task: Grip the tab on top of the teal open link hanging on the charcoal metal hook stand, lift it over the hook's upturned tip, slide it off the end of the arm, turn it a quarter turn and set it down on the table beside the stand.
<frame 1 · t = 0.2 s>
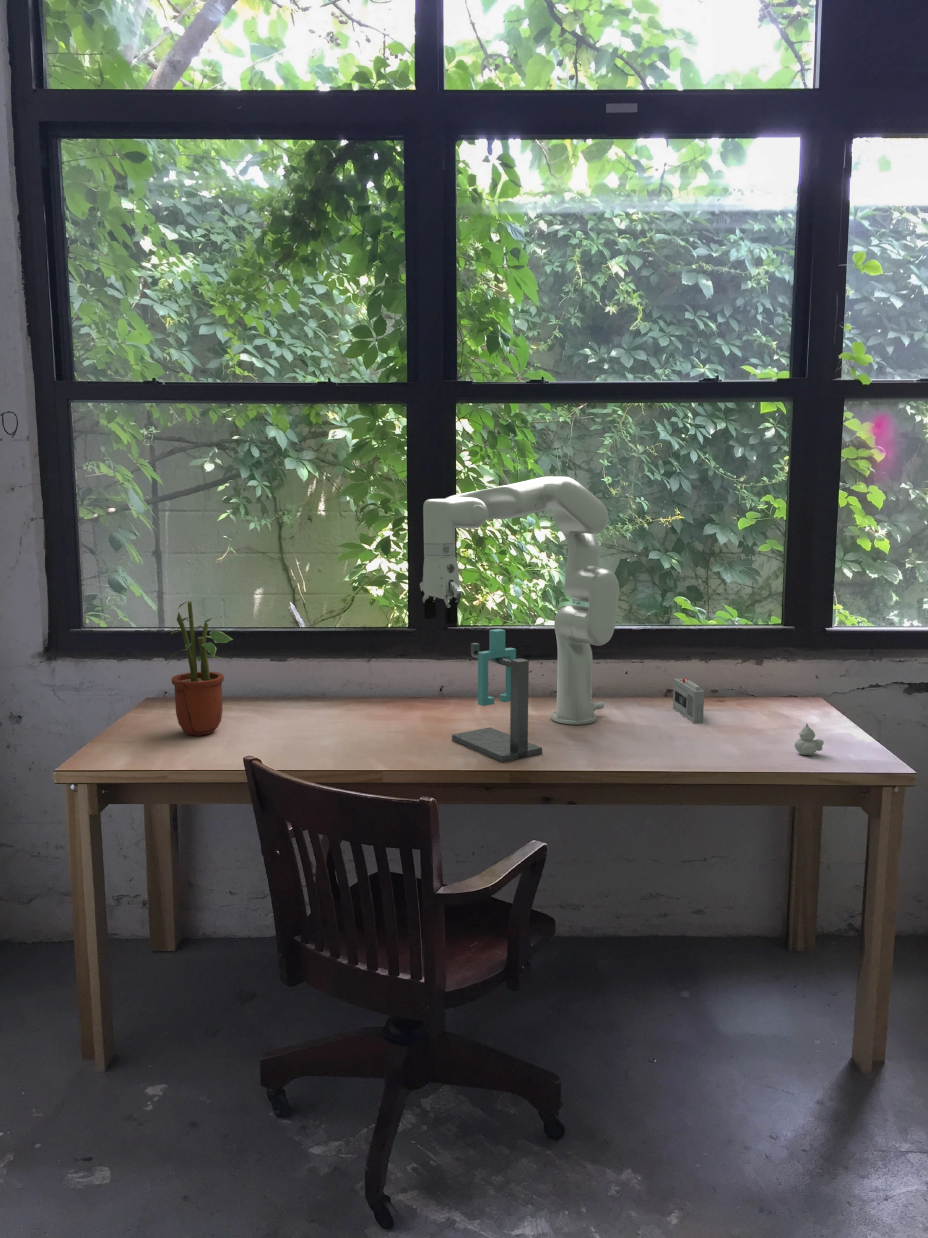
hand: (440, 620, 219), 32 cm above the table, tool pointing down, fingers open, 9 cm apart
cassette player: (687, 716, 253), on the table
potted plant: (200, 730, 238), on the table
teal link: (496, 702, 222), point 11 cm above the table, touching hook stand
hook stand: (496, 747, 224), on the table
rubber duck: (808, 755, 218), on the table
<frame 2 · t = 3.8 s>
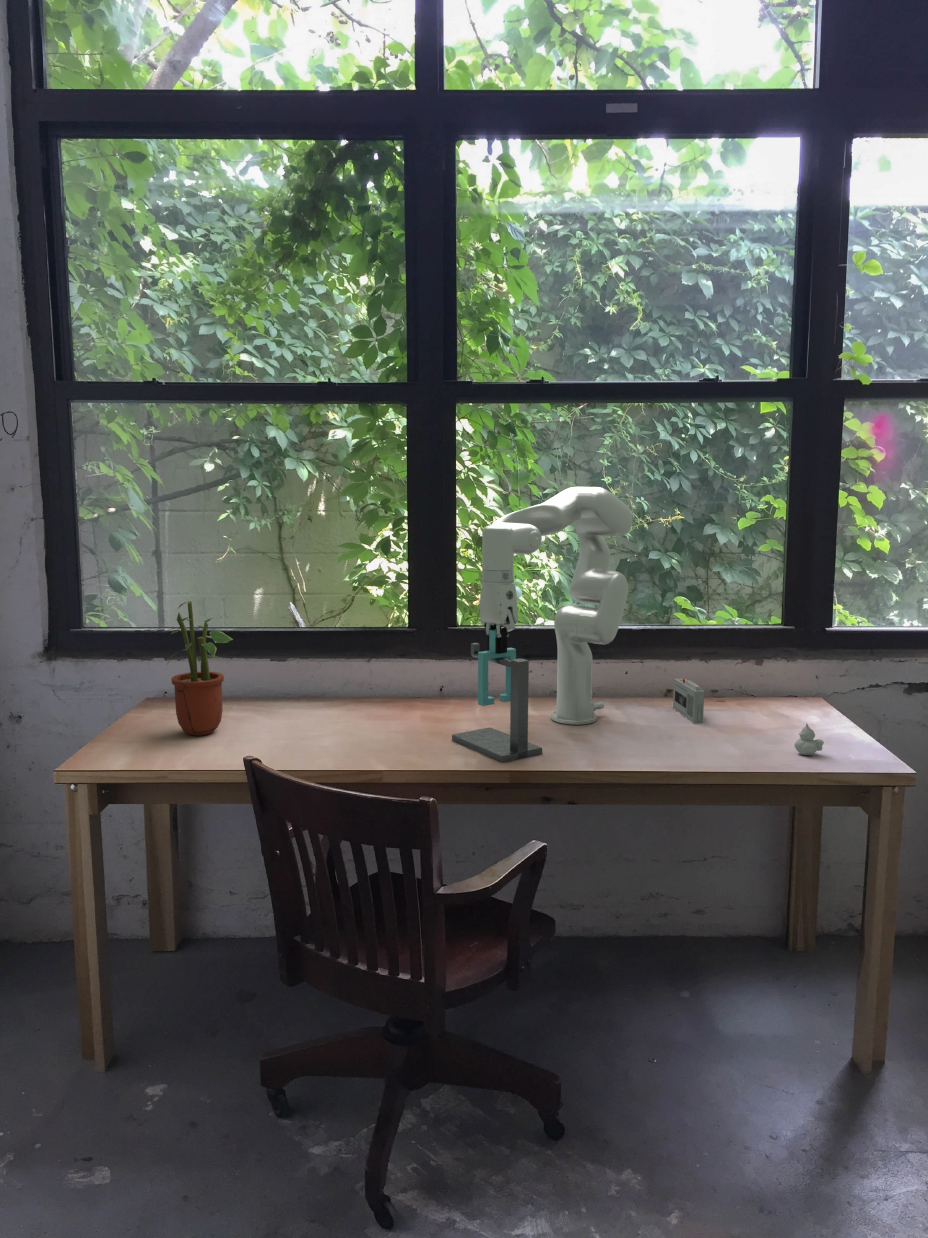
hand: (497, 651, 220), 24 cm above the table, tool pointing down, fingers closed on teal link, 2 cm apart
teal link: (496, 702, 222), point 11 cm above the table, touching gripper, hook stand
everything else where it was.
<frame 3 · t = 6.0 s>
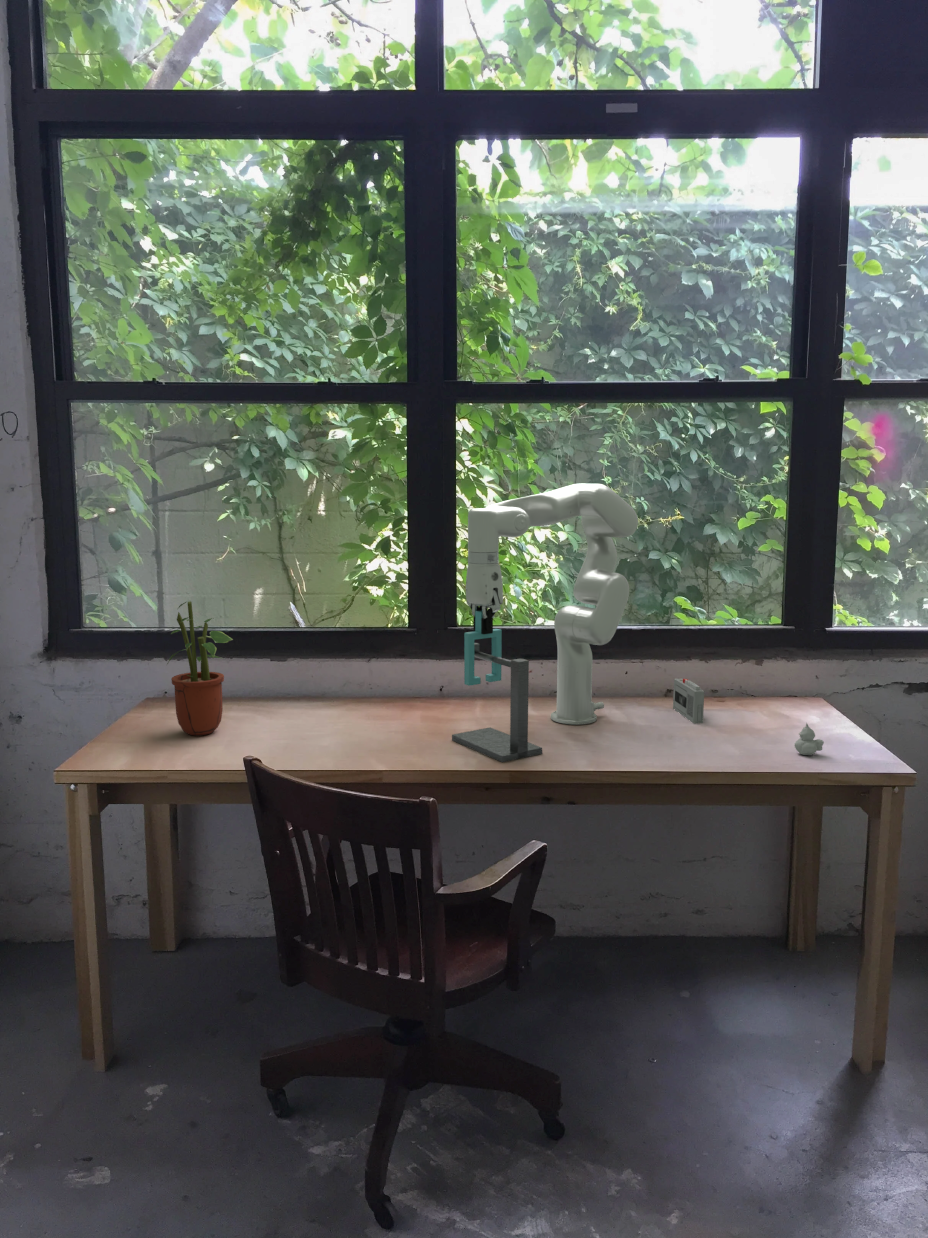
hand: (483, 632, 224), 28 cm above the table, tool pointing down, fingers closed on teal link, 2 cm apart
teal link: (483, 682, 226), point 15 cm above the table, touching gripper
everything else where it was.
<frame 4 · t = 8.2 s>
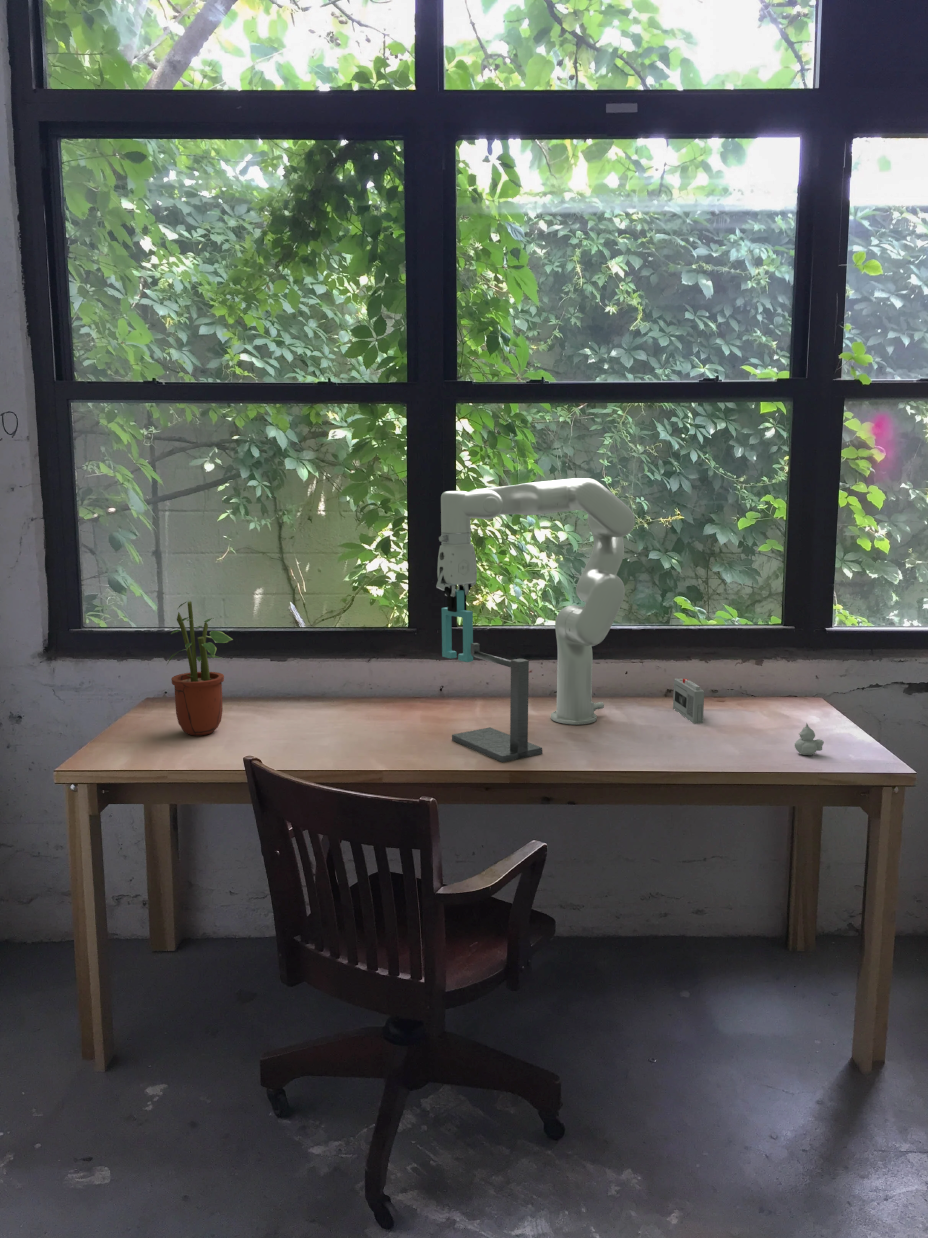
hand: (456, 610, 234), 32 cm above the table, tool pointing down, fingers closed on teal link, 2 cm apart
teal link: (457, 658, 236), point 19 cm above the table, touching gripper
everything else where it was.
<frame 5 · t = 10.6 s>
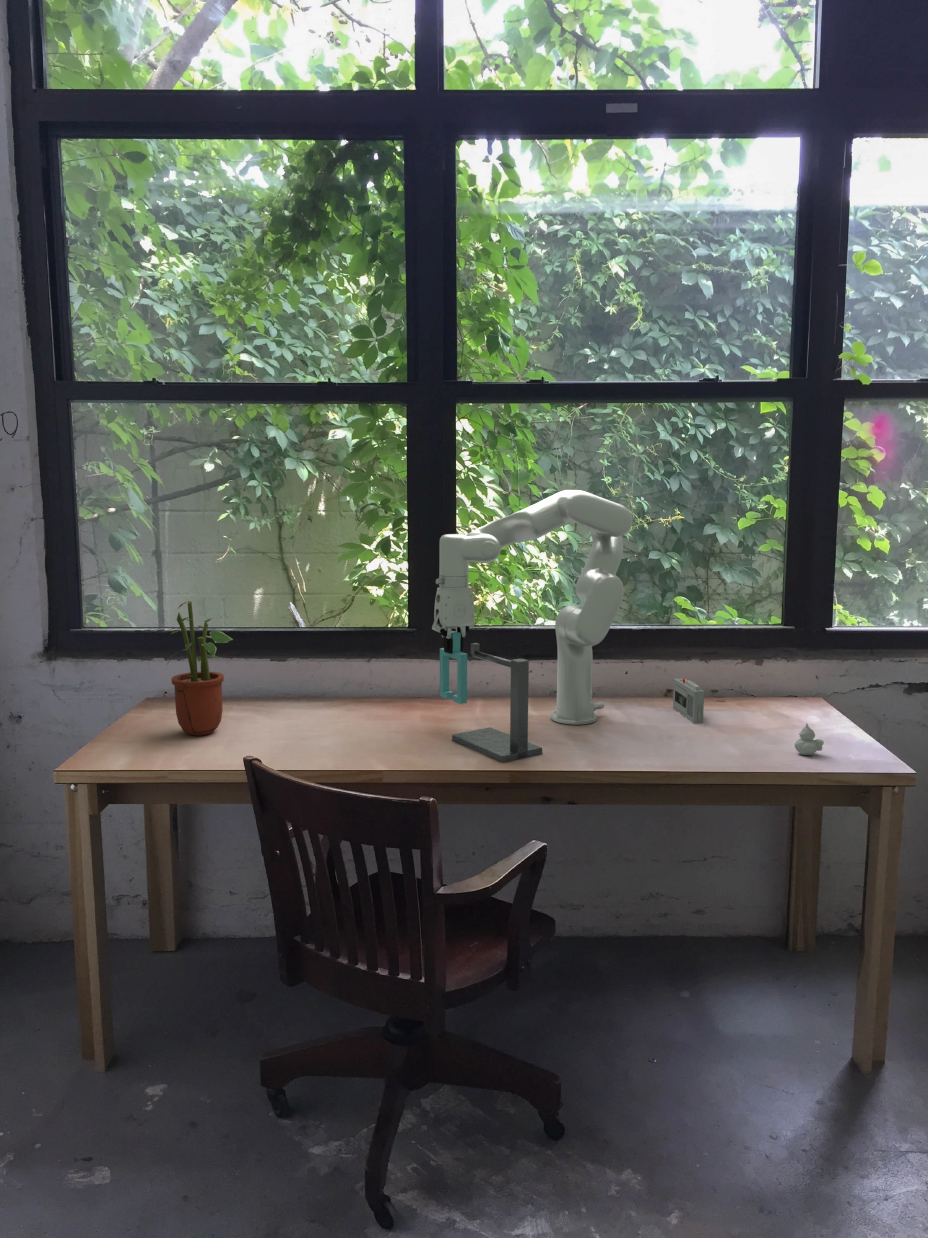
hand: (453, 651, 236), 21 cm above the table, tool pointing down, fingers closed on teal link, 2 cm apart
teal link: (453, 699, 238), point 8 cm above the table, touching gripper
everything else where it was.
when the fingers open (14 cm above the table, at t = 12.6 s): teal link drops 1 cm, on the table.
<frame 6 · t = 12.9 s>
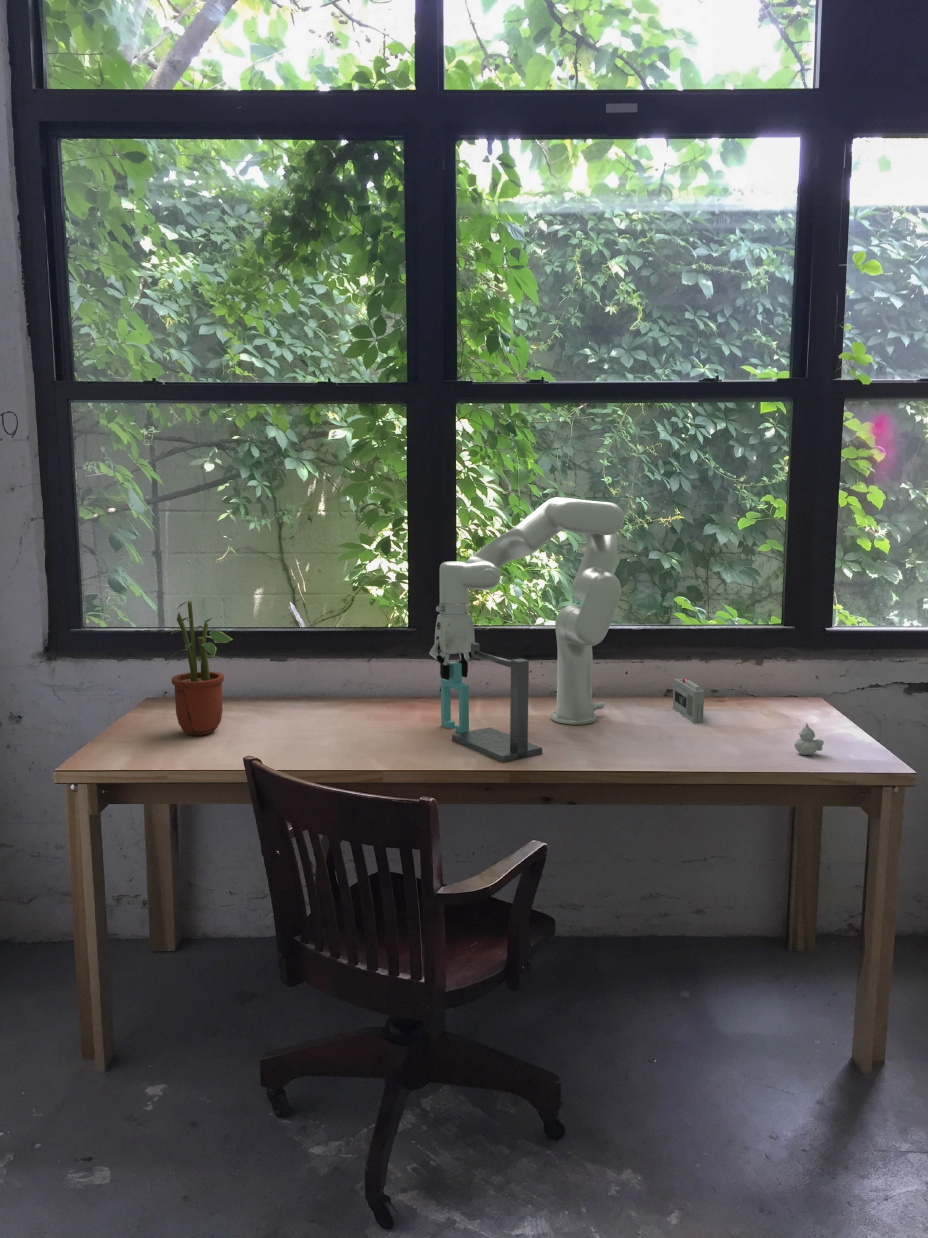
hand: (454, 677, 237), 14 cm above the table, tool pointing down, fingers open, 4 cm apart
teal link: (454, 729, 239), on the table
everything else where it was.
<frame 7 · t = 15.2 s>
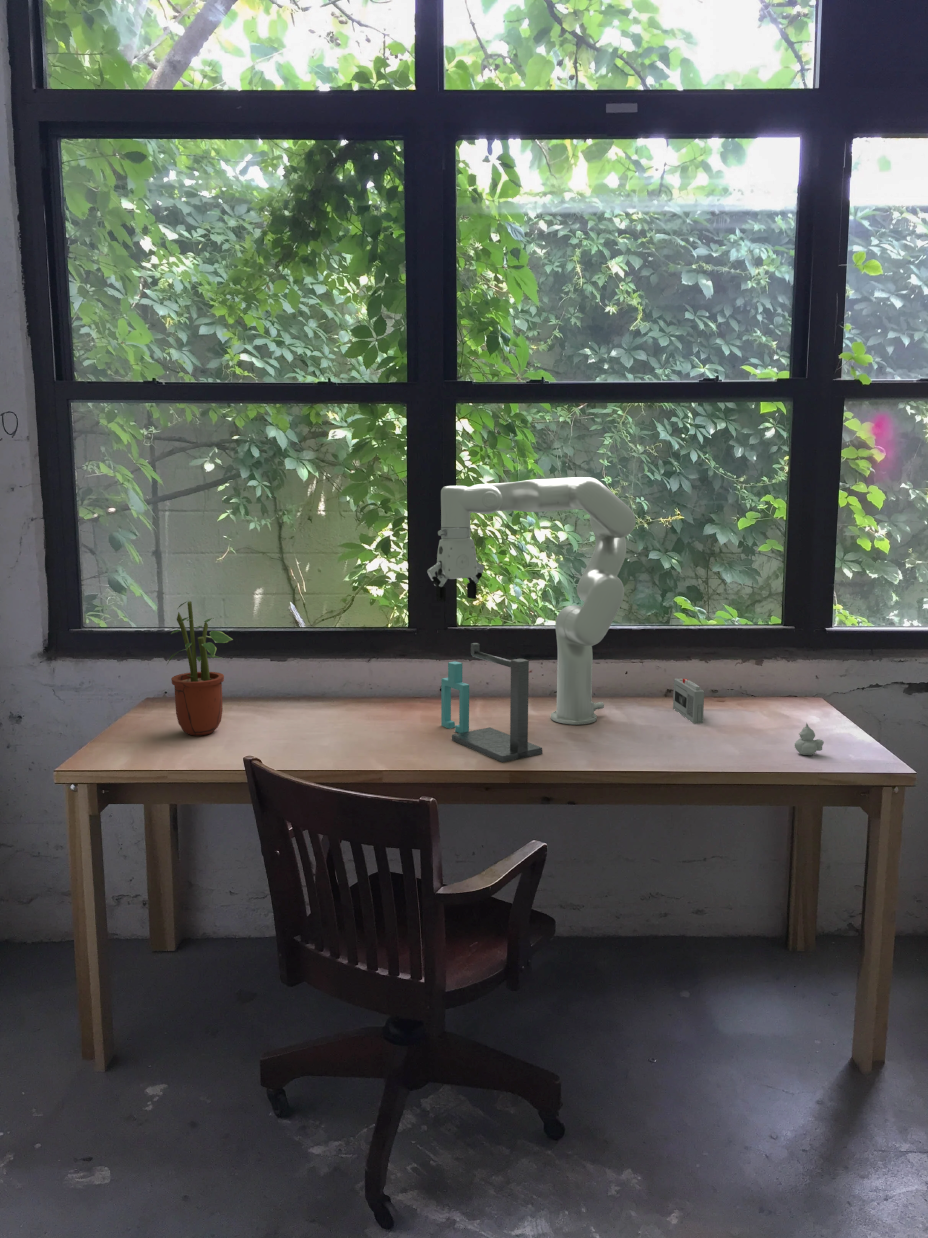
hand: (456, 599, 235), 34 cm above the table, tool pointing down, fingers open, 9 cm apart
nothing on the table moved.
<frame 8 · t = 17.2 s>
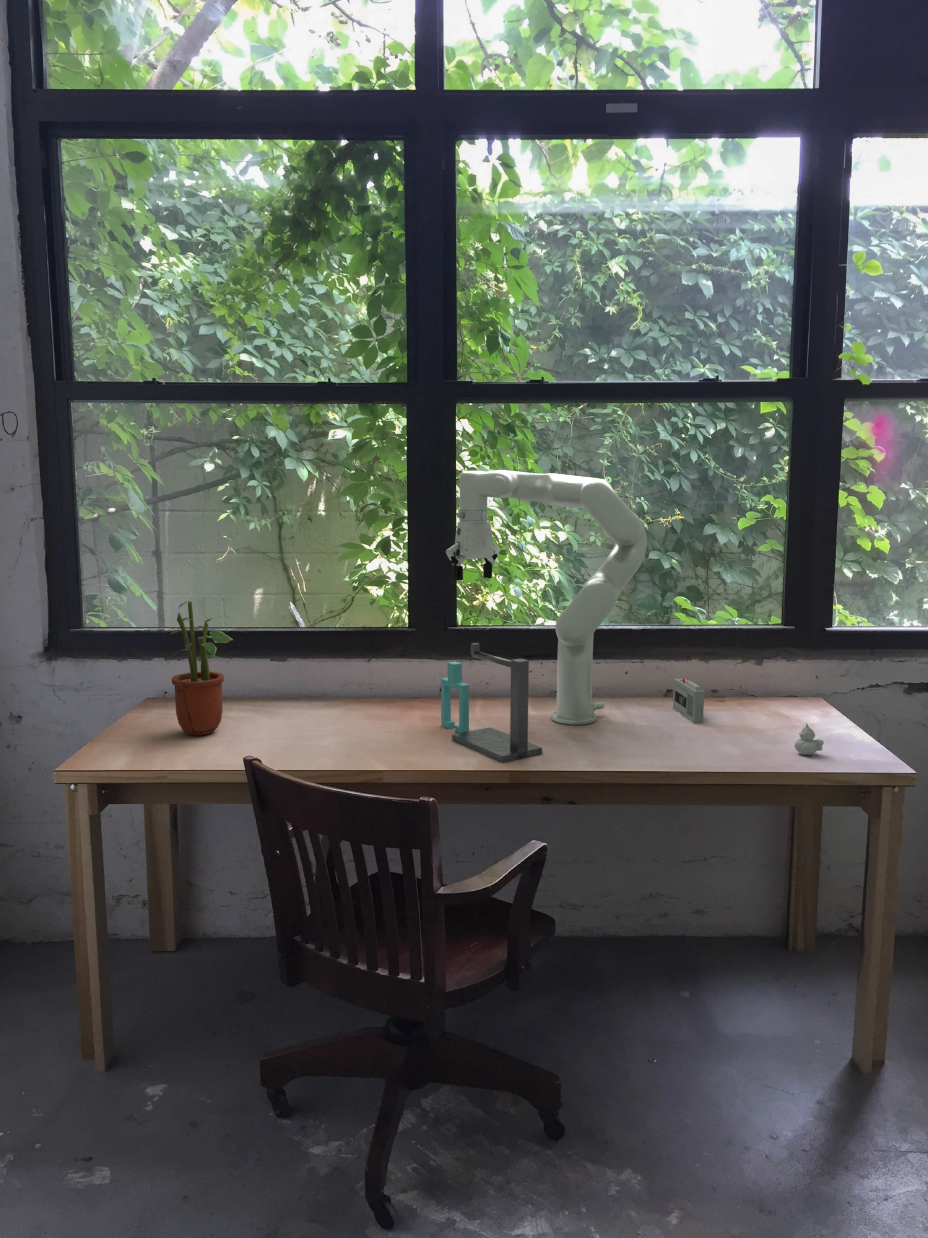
hand: (473, 579, 249), 38 cm above the table, tool pointing down, fingers open, 9 cm apart
nothing on the table moved.
at the end: teal link inside the target area (0.7 cm from its centre), on the table; the gripper is holding nothing; teal link touching table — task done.
